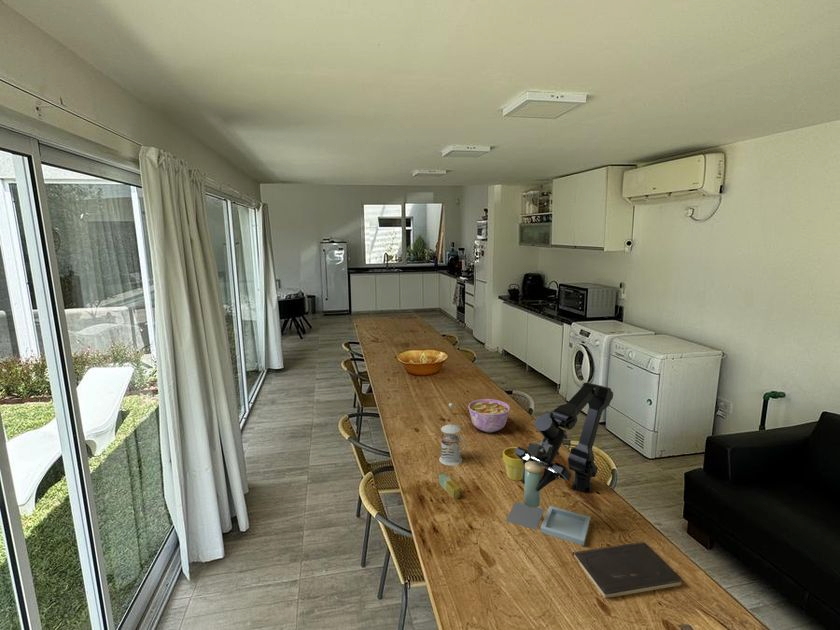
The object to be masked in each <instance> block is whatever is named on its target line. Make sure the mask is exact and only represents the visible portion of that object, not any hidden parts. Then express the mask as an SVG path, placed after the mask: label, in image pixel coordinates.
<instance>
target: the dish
mask: <svg viewBox="0 0 840 630" xmlns="http://www.w3.org/2000/svg"><path fill="white" fill-rule="evenodd" d="M590 523H591V516H588V515H585V514H581V513H579V512H578V513H577V512H574V511H570V510H567V509H563V508H559V507H556V506H552V505H549V506H548V509H547V511H546V514H545V516H544V519H543V521H542V523H541V526H540V531H539V532H540V533H541V534H544V535H547V536H551V537H553V538H557V539H561V540H564V541H568V542H570V543H573V544H576V545H580V546H581V547H583V548H584V547H585V544H586V539H587V535H588V533H589V527H590Z"/></svg>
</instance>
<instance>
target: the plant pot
mask: <svg viewBox="0 0 840 630" xmlns="http://www.w3.org/2000/svg"><path fill="white" fill-rule="evenodd" d="M518 447H519V446H518ZM518 447H517V446H512V447H506V448H505V449H503V451H502V461H503V463H504V466H505V472H506V477H507V478H508V479H510V480H512V481H515V482H516V481H518V482H519V481H522V480H523V471H524V464H523V461H522V460H521V459H519V458H518V457H517V456H516V455H515V454H514V451H515V449H516V448H518Z"/></svg>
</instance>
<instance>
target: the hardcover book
mask: <svg viewBox="0 0 840 630" xmlns="http://www.w3.org/2000/svg"><path fill="white" fill-rule="evenodd" d="M572 556H574V558H575V559H576V560H577V563H578V564H579V566H580V567H581V568H582V570H583V571H584V573H586V575H587V577H589V579H590V581H591V582H592V583H593V585H594V586H595V587H596V589H597V590H598V591H599V593H600V594H601V595H602V597H603V598H604V599H607V598H614V597H619V596H620V597H621V596H625V595H631V594H636V593H637V594H638V593H643V592H649V591H654V590H661V589H667V588H673V587H679V586H682V583H683V582H684V580H683V579H682V578H681V576H679V574H677V573H676V572H675V571H674V569H672V568H671V567H670V566H669V565H668V564H667V563H666V562H665V561H664V560H663V559H662V558H661V557H660V556H659V555H658V554H657V553H656V552H655V551H654V550H653V549H652V548H651V547H650V546H649V545H648V544H647V543H646V542H645V541H639V542H632V543H626V544H618V545H612V546H606V547H605V546H604V547H600V548H591V549H585V550H578V551H573V552H572Z"/></svg>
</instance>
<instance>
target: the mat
mask: <svg viewBox="0 0 840 630" xmlns="http://www.w3.org/2000/svg"><path fill="white" fill-rule="evenodd" d="M544 511H545V509H544V508H540V507H536V508H532V507H528V506H526V505H525V503H524V502H519V501H515V503H514V505H513V506H512V507H511V510H510V512H509V513H508V515H507V517H506V519H505V521H506V522H509V523H511V524H514V525H518V526H522V527H525V528H528V529H531V530H533V531H534V530H535V531H537V529H538V528H539V527H538V526H539V524H540V522H541V519H542V516H543V514H544Z"/></svg>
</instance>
